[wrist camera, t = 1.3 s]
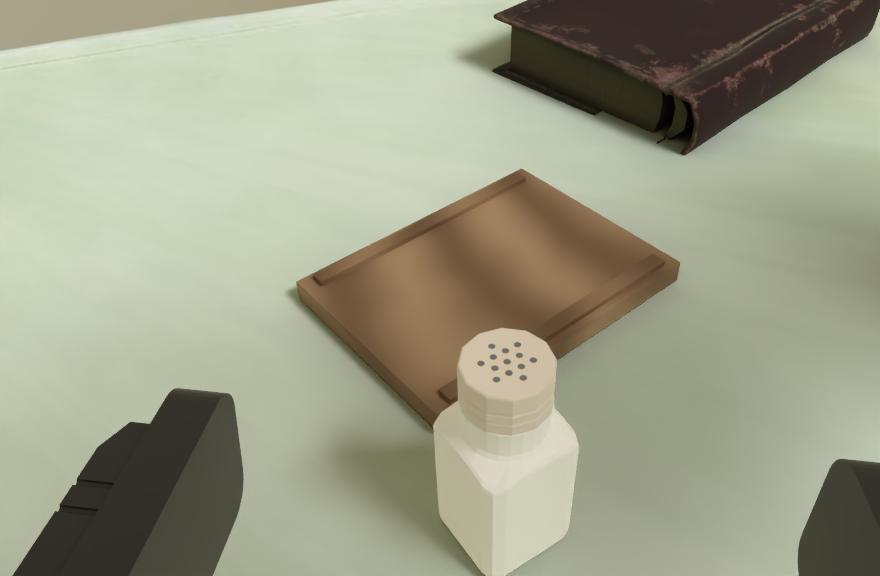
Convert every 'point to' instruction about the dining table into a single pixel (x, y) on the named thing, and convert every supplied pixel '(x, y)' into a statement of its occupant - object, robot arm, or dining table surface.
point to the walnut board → (483, 284)
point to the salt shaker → (505, 453)
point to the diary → (676, 54)
